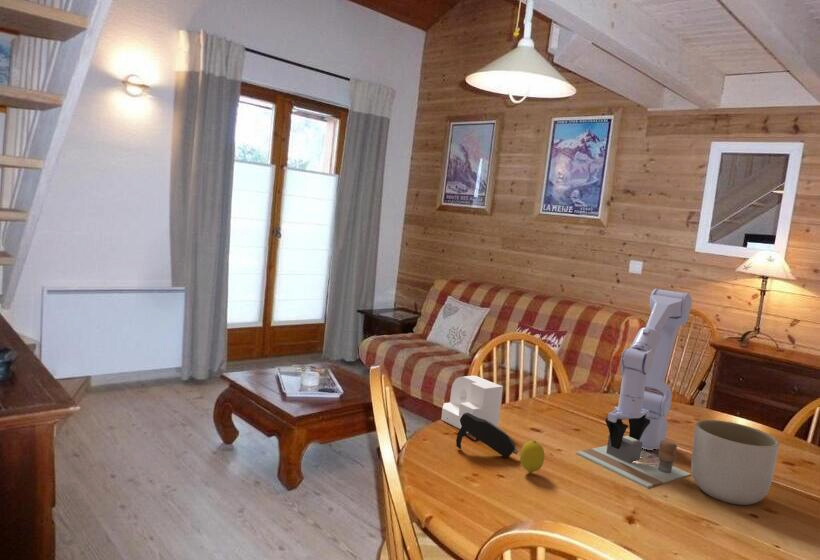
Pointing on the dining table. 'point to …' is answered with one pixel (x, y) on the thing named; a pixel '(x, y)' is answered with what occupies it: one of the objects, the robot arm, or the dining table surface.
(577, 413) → the dining table surface
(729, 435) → the planter
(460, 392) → the tape dispenser
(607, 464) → the panel
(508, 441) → the gun
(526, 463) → the lemon
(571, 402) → the dining table surface
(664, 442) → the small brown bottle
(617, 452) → the block
